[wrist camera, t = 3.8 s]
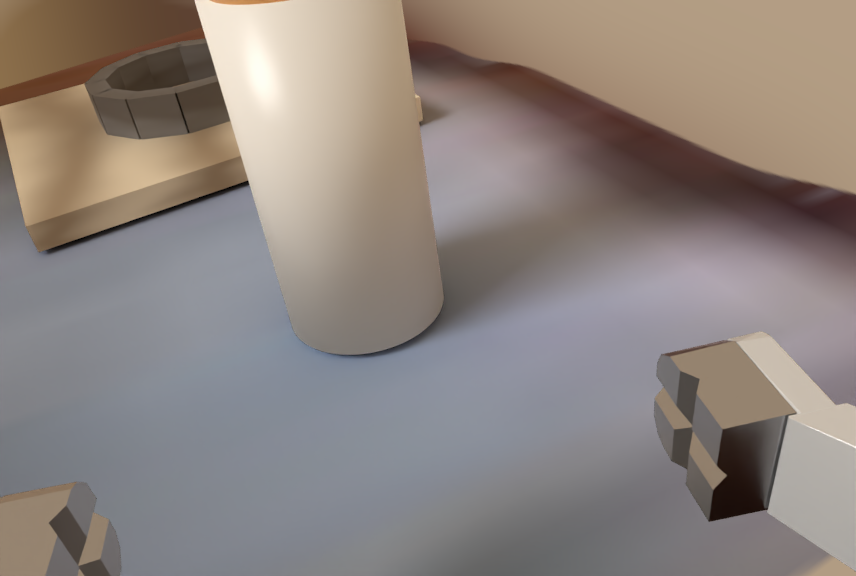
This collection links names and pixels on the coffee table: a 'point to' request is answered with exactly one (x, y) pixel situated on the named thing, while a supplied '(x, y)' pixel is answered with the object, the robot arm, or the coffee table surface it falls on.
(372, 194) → the bottle
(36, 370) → the coffee table surface
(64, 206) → the board
